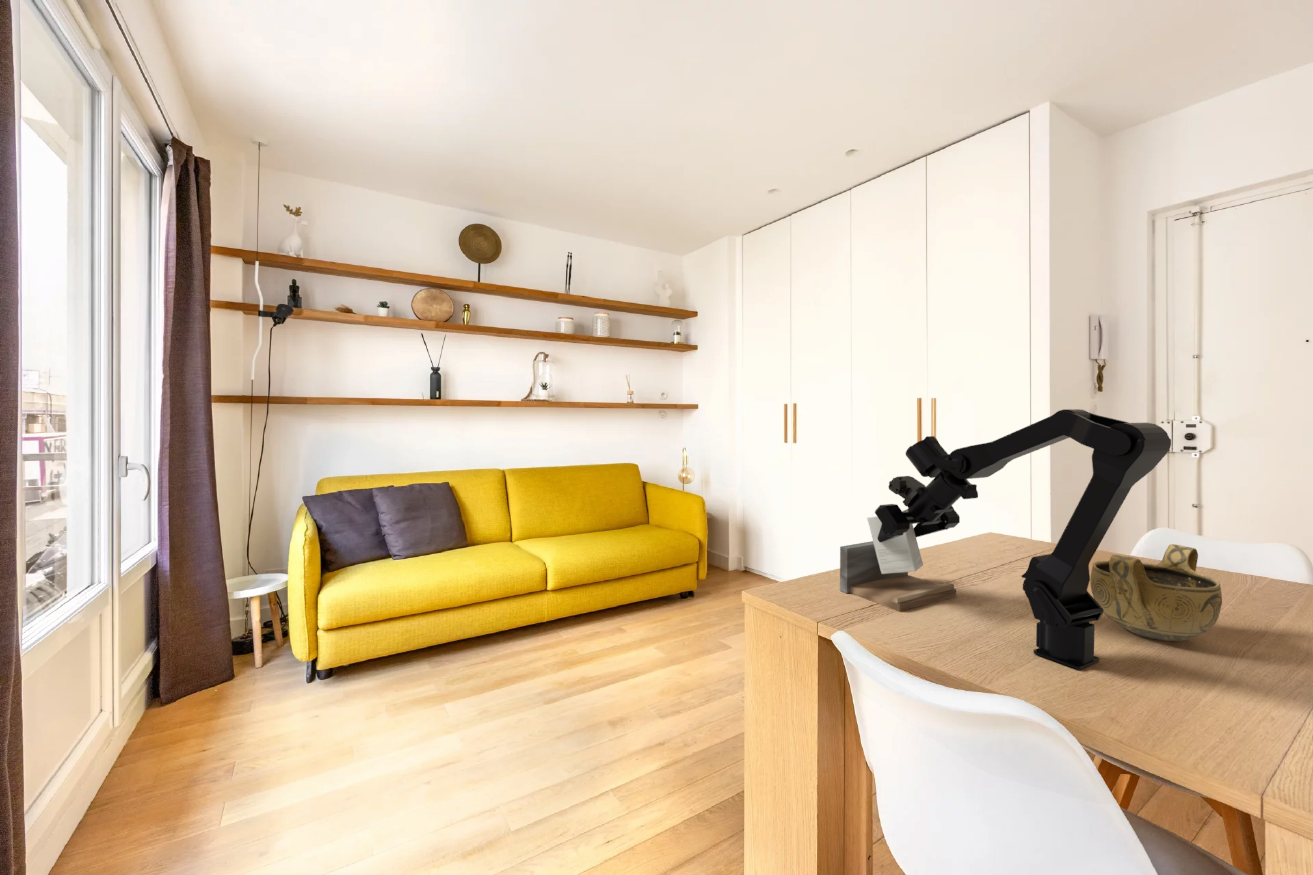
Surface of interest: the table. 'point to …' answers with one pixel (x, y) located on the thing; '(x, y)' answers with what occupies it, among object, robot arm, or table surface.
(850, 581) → the ledge
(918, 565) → the supplement box
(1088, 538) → the robot arm
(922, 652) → the table surface
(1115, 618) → the ceramic bowl
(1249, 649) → the table surface
